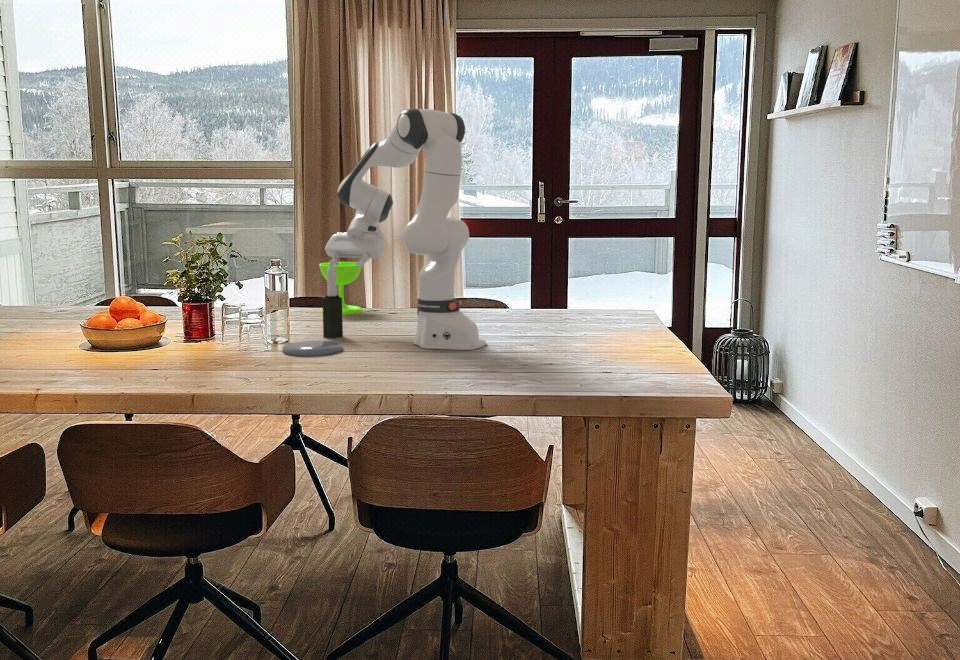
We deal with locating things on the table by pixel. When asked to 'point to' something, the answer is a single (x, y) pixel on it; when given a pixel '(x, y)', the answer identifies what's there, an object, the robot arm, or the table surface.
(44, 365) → the table surface
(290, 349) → the slate plate
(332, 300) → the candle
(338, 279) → the wineglass
